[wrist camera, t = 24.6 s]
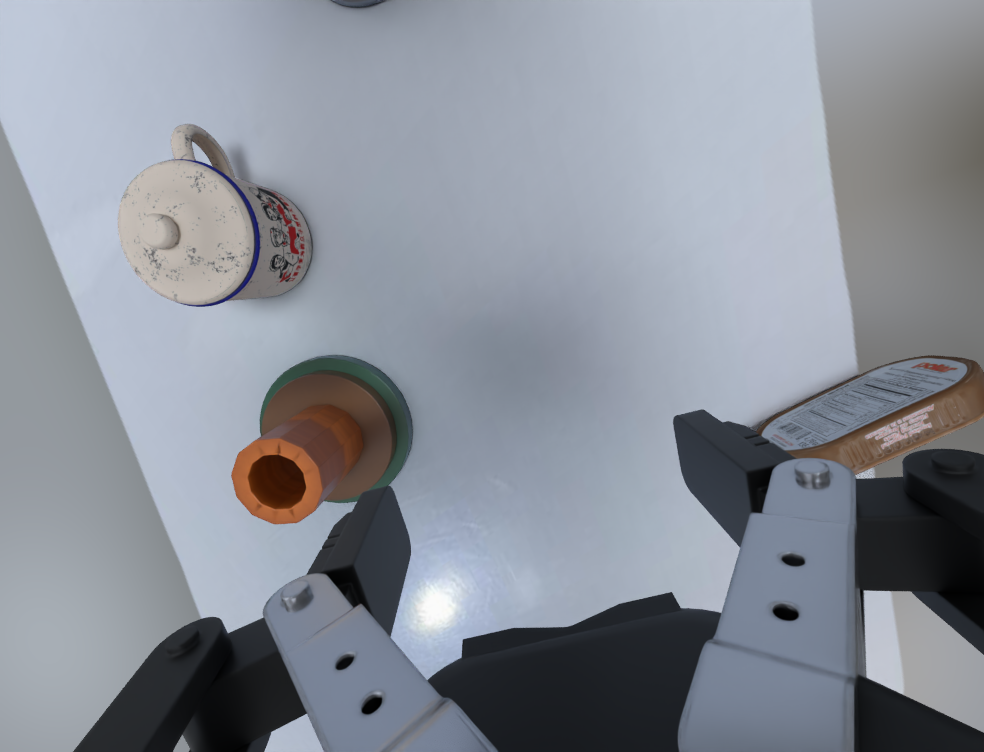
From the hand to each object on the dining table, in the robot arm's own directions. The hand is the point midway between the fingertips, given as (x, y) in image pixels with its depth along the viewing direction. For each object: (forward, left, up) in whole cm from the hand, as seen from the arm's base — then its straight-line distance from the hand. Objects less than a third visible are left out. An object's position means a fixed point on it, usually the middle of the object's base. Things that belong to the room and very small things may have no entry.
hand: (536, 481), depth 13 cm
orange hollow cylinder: (+1, -18, -23) cm, 30 cm away
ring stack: (+1, -18, -26) cm, 32 cm away
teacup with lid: (-17, -17, -27) cm, 36 cm away
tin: (+13, +21, -27) cm, 36 cm away
